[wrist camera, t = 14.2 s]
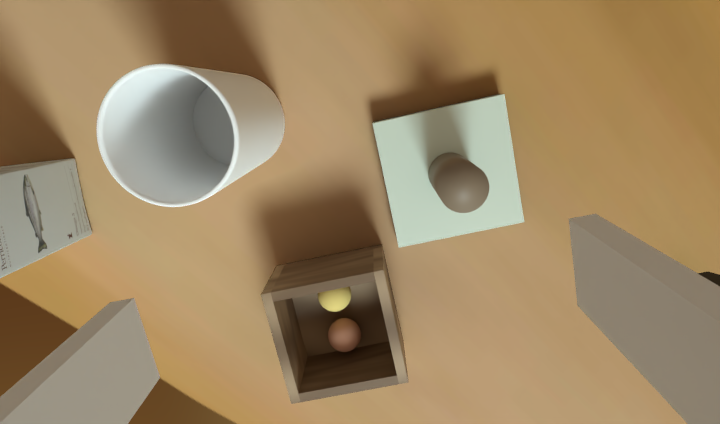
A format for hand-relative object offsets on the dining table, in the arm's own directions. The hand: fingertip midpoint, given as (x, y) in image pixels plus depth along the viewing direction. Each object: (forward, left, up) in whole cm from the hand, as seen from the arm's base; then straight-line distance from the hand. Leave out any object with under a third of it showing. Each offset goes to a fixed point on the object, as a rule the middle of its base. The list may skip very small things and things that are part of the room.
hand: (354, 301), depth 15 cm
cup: (-6, -10, -31) cm, 33 cm away
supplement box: (-3, -29, -31) cm, 43 cm away
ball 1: (+11, -5, -29) cm, 31 cm away
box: (+13, -5, -31) cm, 34 cm away
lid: (+2, +7, -30) cm, 31 cm away
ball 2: (+15, -5, -29) cm, 33 cm away
